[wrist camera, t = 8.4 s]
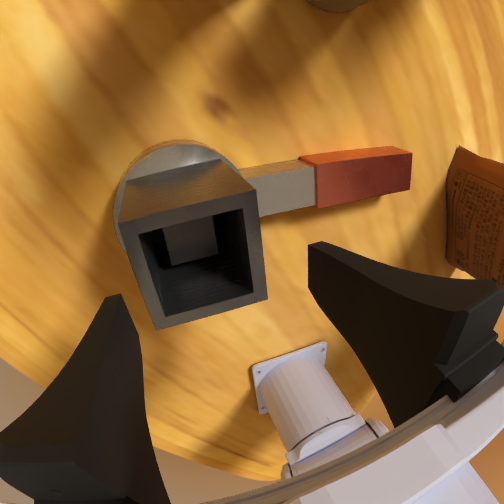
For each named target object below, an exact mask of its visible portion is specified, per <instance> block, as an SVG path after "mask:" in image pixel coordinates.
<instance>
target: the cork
mask: <svg viewBox="0 0 504 504" xmlns="http://www.w3.org/2000/svg"><path fill="white" fill-rule="evenodd" d="M307 1H308V2H310V3H311V4H312V5H314V6H316V7H318V8H320V9H322V10H324V11H329V12H334V13H340V12H347V11H349V10H351V9H353V8H355V7H357V6H360V5H362V4H364V3H366V2H368V1H370V0H307Z"/></svg>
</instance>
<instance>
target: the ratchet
mask: <svg viewBox="0 0 504 504" xmlns="http://www.w3.org/2000/svg"><path fill="white" fill-rule="evenodd" d="M215 159H221V160H223V161H224V162H225V163H226V164H227V165H228V166H230V167H231V168H232V169H233V170H234V171H235V172H237V173H238V174H239V175H240V176H241V177H242V178H243V179H245V180H246V181H247V182H248V183H249V184H250V185H252V186H253V187H254V188H255V189H256V192H257V201H258V210H259V217H262V216H267V215H271V214H276V213H280V212H285V211H289V210H294V209H299V208H303V207H308V206H313V205H314V206H315V207H316V208H323V207H328V206H332V205H337V204H342V203H347V202H351V201H356V200H361V199H366V198H371V197H376V196H381V195H386V194H391V193H396V192H401V191H406V190H410V180H411V167H412V153H411V152H408V151H405V150H402V149H399V148H396V147H393V146H387V147H376V148H365V149H355V150H346V151H337V152H329V153H321V154H314V155H306V156H300V159H298V160H291V161H285V162H279V163H273V164H267V165H261V166H255V167H249V168H244V169H237V168H236V167H235V166H234V165H233V164H232V163H231V162H230V161H229V160H227V159H226V158H225V157H224V156H222V155H221V154H220V153H218V152H217V151H216V150H214V149H213V148H211V147H209V146H207V145H205V144H203V143H200V142H196V141H191V140H171V141H166V142H162V143H159V144H156V145H154V146H152V147H150V148H148V149H147V150H145V151H143V152H142V153H141V154H140V155H138V156H137V157H136V158H135V159H134V160H133V161H132V162H131V164H130V165H129V166H128V168H127V169H126V171H125V172H124V174H123V176H122V178H121V181H120V184H119V187H118V190H117V194H116V197H115V202H114V208H113V221H114V228H115V232H116V235H117V238H118V240H119V242H120V244H121V246H122V248H123V249H124V250H125V252H126V253H127V251H126V248H125V245H124V242H123V239H122V236H121V233H120V230H119V227H118V219H119V213H120V208H121V203H122V198H123V193H124V189H125V184H126V181H127V180H131V179H134V178H138V177H142V176H146V175H150V174H154V173H158V172H162V171H166V170H170V169H174V168H178V167H183V166H187V165H192V164H196V163H201V162H205V161H210V160H215ZM151 234H152V238H153V241H154V245H155V248H156V252H159V251H163V250H167V249H168V252H169V256H170V260H171V263H172V266H173V265H177V264H181V263H185V262H189V261H192V260H196V259H200V258H204V257H208V256H212V255H216V254H219V253H218V248H217V242H216V237H217V236H221V235H222V234H221V228H220V222H219V216H218V214H215V215H211V216H207V217H203V218H199V219H195V220H191V221H187V222H183V223H179V224H175V225H171V226H167V227H163V228H159V229H155V230H152V231H151Z"/></svg>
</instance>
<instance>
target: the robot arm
mask: <svg viewBox="0 0 504 504" xmlns="http://www.w3.org/2000/svg"><path fill="white" fill-rule="evenodd" d="M308 288H309V290H310V292H311V293H312V295H313V297H314V299H315V300H316V302H317V304H318V305H319V307H320V308H321V309H322V311H323V312H324V313H325V315H326V316H327V317H328V318H329V320H330V321H331V322H332V323H333V325H334V326H335V327H336V328H337V330H338V331H339V332H340V333H341V335H342V336H343V337H344V338H345V340H346V341H347V342H348V343H349V345H350V346H351V347H352V349H353V350H354V352H355V353H356V355H357V356H358V358H359V360H360V361H361V363H362V364H363V366H364V368H365V369H366V371H367V373H368V375H369V377H370V378H371V380H372V382H373V384H374V386H375V387H376V389H377V391H378V393H379V395H380V397H381V399H382V401H383V403H384V405H385V407H386V410H387V412H388V414H389V416H390V419H391V421H392V423H393V425H394V429H393V430H391V431H389V430H388V429H387V428H386V426H385V425H384V424H383V423H382V422H381V421H380V420H377V419H372V418H368V419H367V420H365V421H364V420H363V418H362V417H361V415H360V414H357V415H356V413H355V412H354V410H353V409H352V407H351V406H350V404H349V403H348V401H347V400H346V398H345V397H344V395H343V394H342V392H341V391H340V389H339V388H338V386H337V385H336V383H335V382H334V380H333V379H332V377H331V376H330V374H329V373H328V371H327V370H326V368H325V361H326V351H327V343H326V342H325V341H321V342H319V343H316V344H313V345H310V346H308V347H305V348H302V349H299V350H296V351H294V352H291V353H288V354H285V355H282V356H279V357H276V358H273V359H270V360H267V361H264V362H261V363H257V364H255V365H253V366H252V374H253V380H254V386H255V392H256V398H257V404H258V410H259V413H260V414H266V413H269V415H270V417H271V419H272V421H273V423H274V425H275V428H276V430H277V432H278V434H279V436H280V438H281V440H282V442H283V445H284V447H285V449H286V450H287V451H288V453H286V454H285V456H286V458H287V460H288V462H289V463H287V464H284V465H283V467H282V472H281V480H282V481H280V482H277V483H274V484H271V485H268V486H265V487H262V488H259V489H255V490H252V491H249V492H245V493H242V494H238V495H235V496H231V497H227V498H223V499H219V500H214V501H210V502H206V503H201V504H499V502H498V501H497V500H496V498H495V497H494V496H493V494H492V493H491V492H490V490H489V489H488V487H487V486H486V485H485V483H484V482H483V481H482V479H481V478H480V477H479V475H478V474H477V473H476V471H475V470H474V469H473V467H472V466H471V465H470V463H469V462H468V461H470V459H472V458H473V457H474V456H475V455H476V454H477V453H478V452H480V450H482V449H483V448H484V447H485V446H486V445H487V444H488V443H489V442H490V441H491V440H492V439H493V438H494V437H495V436H496V435H497V434H498V433H499V432H500V431H501V430H502V429H503V428H504V341H503V342H502V343H501V345H500V344H499V343H498V342H497V341H496V339H497V338H498V334H497V333H496V332H495V331H494V330H493V329H494V326H495V324H496V322H497V320H498V318H499V316H500V313H501V311H502V309H503V306H504V289H502V288H501V287H500V286H498V285H497V284H496V283H494V282H493V281H491V280H489V279H454V278H444V277H437V276H431V275H425V274H420V273H415V272H411V271H407V270H403V269H399V268H396V267H392V266H389V265H386V264H383V263H380V262H377V261H374V260H372V259H369V258H366V257H364V256H361V255H358V254H356V253H353V252H351V251H348V250H346V249H343V248H340V247H338V246H335V245H332V244H329V243H326V242H323V241H321V242H317V243H313V244H309V245H308ZM0 477H1V478H2V479H3V480H4V481H5V482H7V483H8V484H9V485H11V486H12V487H14V488H16V489H17V490H19V491H21V492H22V493H24V494H26V495H27V496H29V497H31V498H33V499H34V504H171V503H170V500H169V497H168V495H167V492H166V489H165V486H164V483H163V480H162V477H161V474H160V471H159V467H158V464H157V461H156V457H155V453H154V450H153V445H152V441H151V437H150V433H149V428H148V423H147V418H146V411H145V400H144V383H143V363H142V353H141V347H140V341H139V334H138V332H137V330H136V328H135V326H134V323H133V321H132V319H131V316H130V314H129V312H128V309H127V307H126V305H125V302H124V300H123V297H122V295H121V294H117V295H113V296H109V297H106V298H105V299H104V301H103V303H102V305H101V306H100V308H99V310H98V312H97V314H96V315H95V317H94V319H93V321H92V323H91V324H90V326H89V328H88V330H87V332H86V333H85V335H84V337H83V338H82V340H81V342H80V343H79V345H78V346H77V348H76V350H75V351H74V353H73V355H72V356H71V358H70V359H69V361H68V362H67V363H66V365H65V366H64V368H63V369H62V370H61V372H60V373H59V374H58V376H57V377H56V378H55V379H54V381H53V382H52V383H51V384H50V385H49V386H48V388H47V389H46V390H45V391H44V392H43V394H42V395H41V396H40V397H39V398H38V399H37V400H36V401H35V402H34V403H33V404H32V405H31V406H30V407H29V408H28V409H27V410H26V411H25V412H24V413H23V414H22V415H21V416H20V417H18V418H17V419H16V420H15V421H14V422H12V423H11V424H10V425H9V426H8V427H6V428H5V429H4V430H3V431H1V432H0ZM0 504H15V503H8V502H1V503H0Z"/></svg>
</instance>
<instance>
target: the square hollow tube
mask: <svg viewBox="0 0 504 504" xmlns="http://www.w3.org/2000/svg"><path fill="white" fill-rule="evenodd" d="M215 214H218V216H219V222H220V228H221V234H222V235H221V236H217V237H216V242H217V248H218V253H219V254H216V255H212V256H208V257H204V258H200V259H196V260H192V261H189V262H185V263H181V264H177V265H173V266H172V263H171V260H170V256H169V252H168V249H167V250H163V251H159V252H156V248H155V245H154V241H153V238H152V234H151V231H152V230H155V229H159V228H163V227H167V226H171V225H175V224H179V223H183V222H187V221H191V220H195V219H199V218H203V217H207V216H211V215H215ZM118 227H119V230H120V233H121V236H122V239H123V242H124V245H125V248H126V251H127V254H128V257H129V260H130V263H131V266H132V269H133V272H134V274H135V277H136V280H137V283H138V285H139V288H140V291H141V293H142V296H143V299H144V301H145V304H146V306H147V309H148V311H149V314H150V316H151V319H152V321H153V324H154V326H155V329H156V330H160V329H164V328H168V327H171V326H175V325H179V324H183V323H186V322H190V321H194V320H198V319H201V318H205V317H208V316H212V315H215V314H219V313H223V312H226V311H230V310H233V309H236V308H240V307H243V306H247V305H250V304H253V303H257V302H260V301H263V300H267V299H268V295H267V285H266V276H265V266H264V257H263V247H262V238H261V229H260V219H259V210H258V201H257V192H256V189H255V188H254V187H253V186H252V185H250V184H249V183H248V182H247V181H246V180H245V179H243V178H242V177H241V176H240V175H239V174H238V173H237V172H235V171H234V170H233V169H232V168H231V167H230V166H228V165H227V164H226V163H225V162H224V161H223V160H221V159H215V160H210V161H205V162H201V163H196V164H192V165H187V166H183V167H178V168H174V169H170V170H166V171H162V172H158V173H154V174H150V175H146V176H142V177H138V178H134V179H131V180H127V181H126V184H125V189H124V193H123V198H122V203H121V208H120V213H119V219H118Z"/></svg>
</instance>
